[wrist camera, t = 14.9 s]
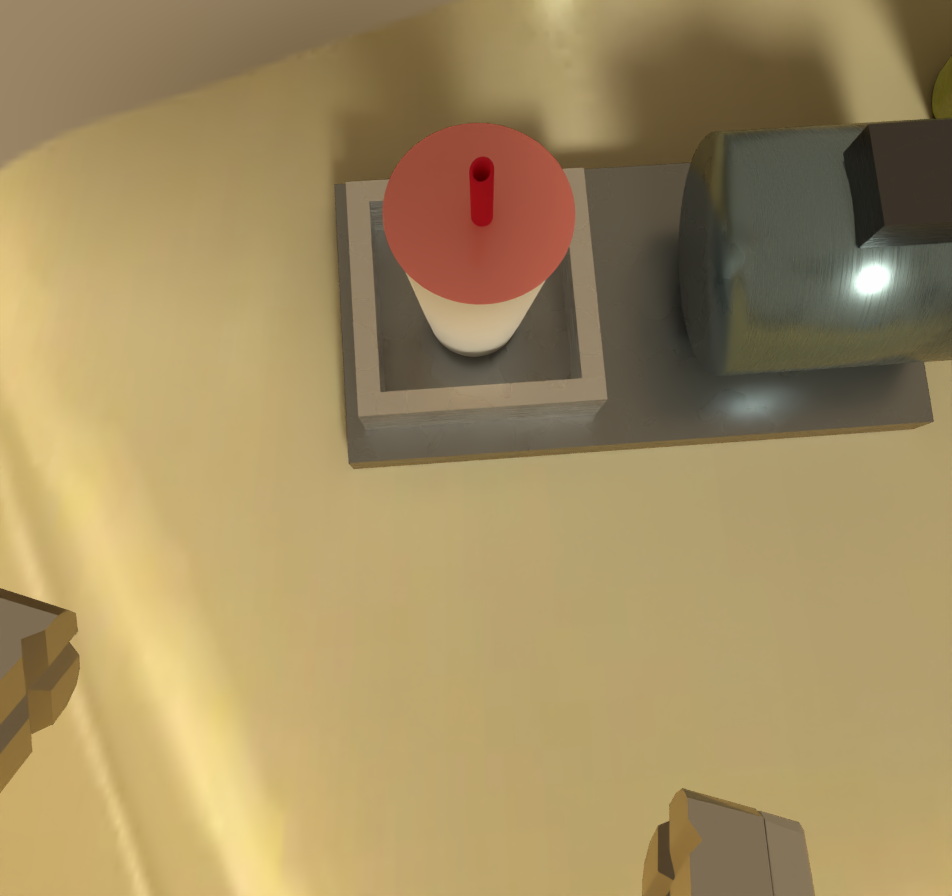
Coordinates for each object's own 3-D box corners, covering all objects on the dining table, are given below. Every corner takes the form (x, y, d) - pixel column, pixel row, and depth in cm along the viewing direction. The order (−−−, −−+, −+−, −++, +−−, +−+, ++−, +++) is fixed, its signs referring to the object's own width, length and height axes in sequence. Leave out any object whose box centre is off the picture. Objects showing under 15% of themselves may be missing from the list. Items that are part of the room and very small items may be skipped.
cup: (479, 411, 32) (492, 305, 20) (373, 319, 32) (325, 163, 21) (572, 308, 33) (637, 148, 21) (467, 219, 33) (472, 14, 21)
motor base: (871, 169, 36) (1052, -17, 25) (912, 428, 34) (1127, 352, 23) (339, 201, 35) (286, 25, 24) (353, 468, 33) (302, 409, 22)
